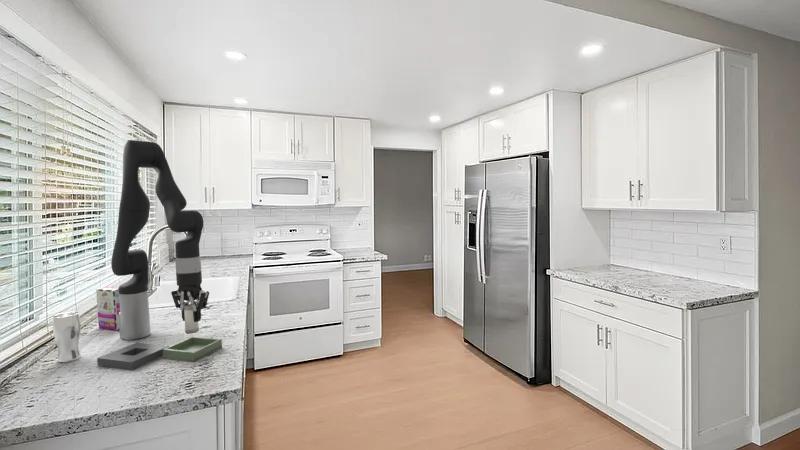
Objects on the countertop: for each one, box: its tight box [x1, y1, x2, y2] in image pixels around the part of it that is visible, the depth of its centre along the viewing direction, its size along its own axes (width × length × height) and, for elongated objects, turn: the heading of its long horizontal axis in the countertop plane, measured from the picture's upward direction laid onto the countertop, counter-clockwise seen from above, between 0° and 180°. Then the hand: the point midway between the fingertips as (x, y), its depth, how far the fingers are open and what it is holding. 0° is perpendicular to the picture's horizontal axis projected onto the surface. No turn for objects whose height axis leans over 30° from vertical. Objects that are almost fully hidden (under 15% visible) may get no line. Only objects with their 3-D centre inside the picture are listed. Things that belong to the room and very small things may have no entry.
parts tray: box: [162, 336, 223, 363], centre depth 137 cm, size 13×13×3 cm
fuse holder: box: [96, 342, 170, 371], centre depth 133 cm, size 14×14×2 cm
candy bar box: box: [95, 286, 120, 331], centre depth 166 cm, size 11×5×16 cm, turn 68°
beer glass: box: [52, 311, 82, 363], centre depth 134 cm, size 7×7×15 cm
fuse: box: [184, 303, 200, 335], centre depth 137 cm, size 4×4×9 cm
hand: (191, 320), depth 137 cm, fingers closed on fuse, 4 cm apart
